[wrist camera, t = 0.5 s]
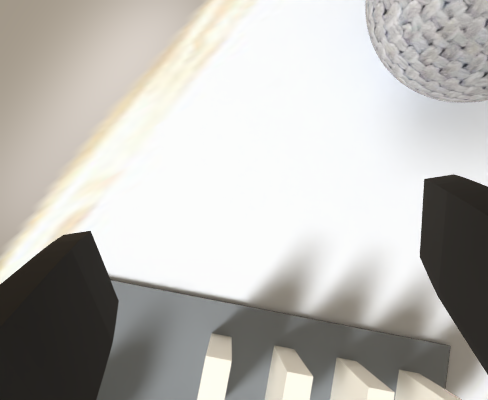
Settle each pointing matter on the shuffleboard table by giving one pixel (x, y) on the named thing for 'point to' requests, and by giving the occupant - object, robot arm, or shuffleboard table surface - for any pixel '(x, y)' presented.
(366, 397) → the domino
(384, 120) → the shuffleboard table surface
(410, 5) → the decorative ball
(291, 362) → the domino
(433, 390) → the domino
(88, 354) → the robot arm
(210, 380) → the domino
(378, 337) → the slate mat
